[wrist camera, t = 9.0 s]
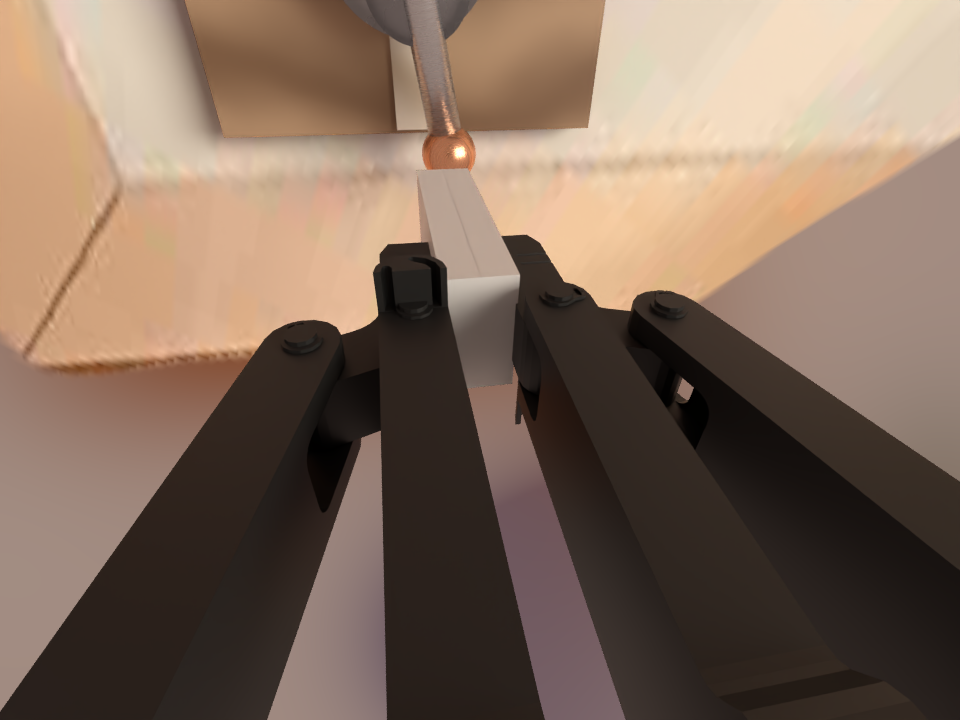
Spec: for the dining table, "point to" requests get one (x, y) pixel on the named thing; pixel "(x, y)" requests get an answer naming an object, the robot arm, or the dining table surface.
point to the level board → (393, 67)
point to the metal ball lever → (428, 68)
